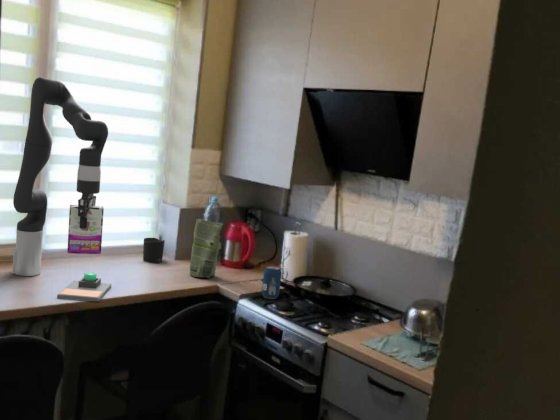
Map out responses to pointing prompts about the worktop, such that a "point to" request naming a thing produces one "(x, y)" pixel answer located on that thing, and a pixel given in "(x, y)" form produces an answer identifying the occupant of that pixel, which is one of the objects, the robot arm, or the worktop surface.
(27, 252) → the robot arm
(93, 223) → the candy bar box
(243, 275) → the worktop surface
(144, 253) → the pen holder
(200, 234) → the pouch
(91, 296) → the activity board
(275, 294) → the soda can
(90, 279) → the button
